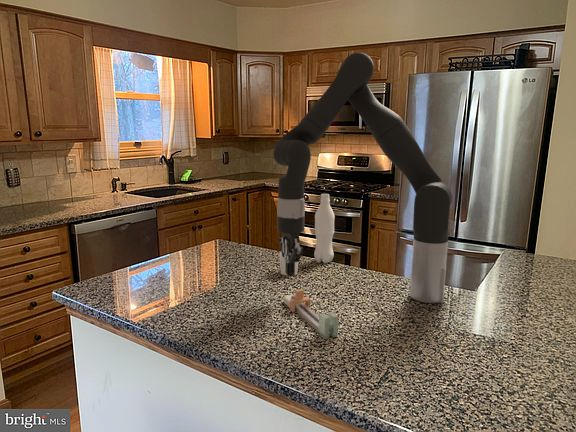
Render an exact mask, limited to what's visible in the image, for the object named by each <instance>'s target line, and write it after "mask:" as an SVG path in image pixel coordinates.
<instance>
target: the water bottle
mask: <svg viewBox="0 0 576 432" xmlns="http://www.w3.org/2000/svg"><path fill="white" fill-rule="evenodd" d="M330 202H331V200H330V194H329V193H321V194H320V204H319V205H318V208H317V210H316V211H315V214H314V234H315V239H316V240H315V241H316V245H315V249H314V254H313V256H314V259H315V260H316V263H320V264H321V262H323V264H328V263H330V262H332V261H333V258H334V254H335V253H334V251H333V249H334V248H333V237H334V234H335V217H336V216H335V212H334V211H333V209H332V206H331V205H330Z"/></svg>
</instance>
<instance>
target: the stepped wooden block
mask: <svg viewBox="0 0 576 432" xmlns="http://www.w3.org/2000/svg"><path fill="white" fill-rule="evenodd" d="M304 293H305V291H304V289H295V291H294V295H295V299H290V308H289V310H290V312H292V313H295V312H296V311H295V304H298V303H305V304H306V305H307V306H308V307H309V308H310V309H311V299H310V297H308V296H304Z"/></svg>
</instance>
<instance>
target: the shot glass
mask: <svg viewBox="0 0 576 432" xmlns="http://www.w3.org/2000/svg"><path fill="white" fill-rule="evenodd" d="M278 255H279V257H278V258H279V266H280V268H279V269H280V274H281V275H283V276H288V275H287V274H286V273H285V267H286V261H285V260H284V257H282V253H281V251H280V252H278ZM298 266H299V262H295V274H294V275H295V276H296V275H297V274H298V269H299V267H298ZM294 275H293V276H294Z"/></svg>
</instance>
